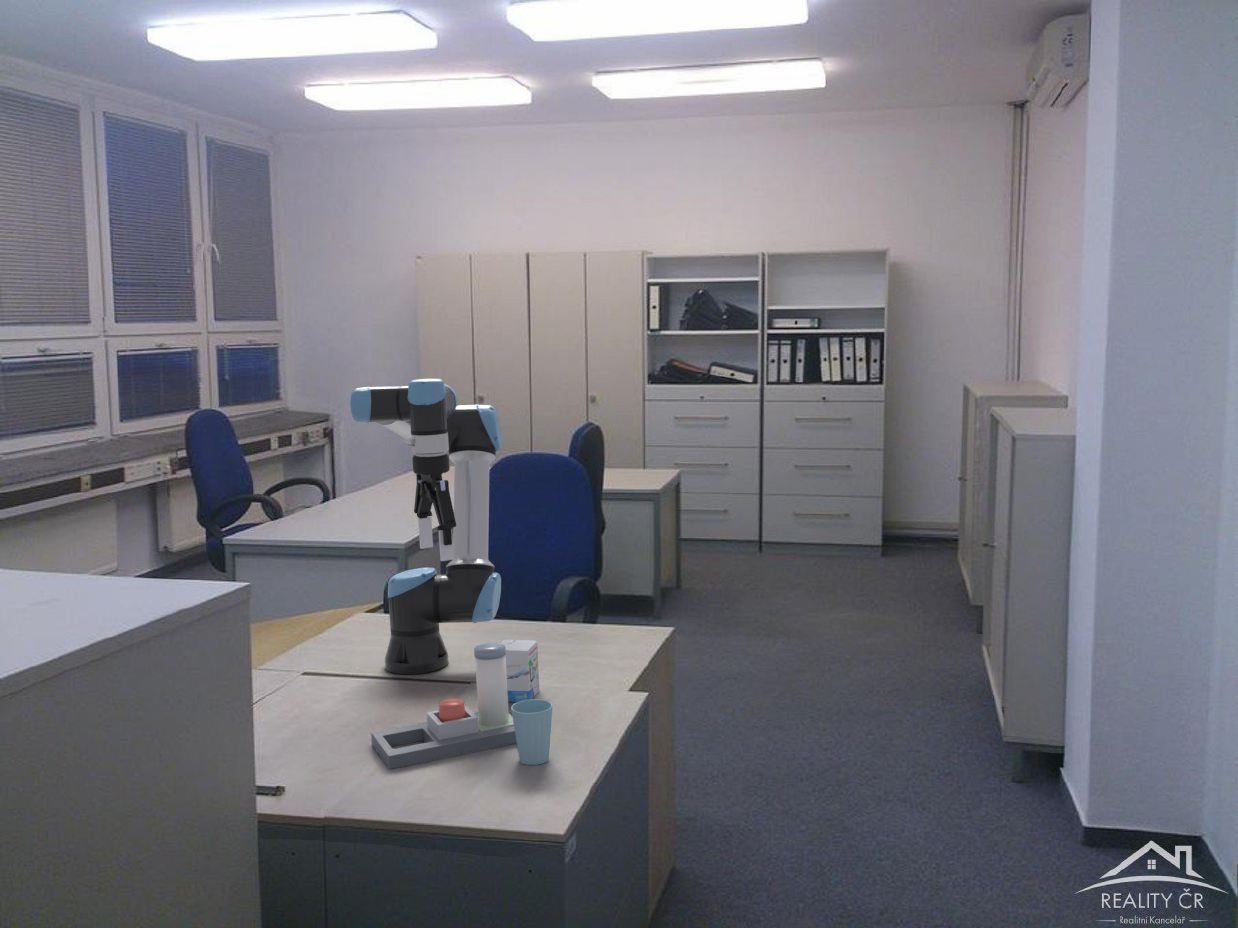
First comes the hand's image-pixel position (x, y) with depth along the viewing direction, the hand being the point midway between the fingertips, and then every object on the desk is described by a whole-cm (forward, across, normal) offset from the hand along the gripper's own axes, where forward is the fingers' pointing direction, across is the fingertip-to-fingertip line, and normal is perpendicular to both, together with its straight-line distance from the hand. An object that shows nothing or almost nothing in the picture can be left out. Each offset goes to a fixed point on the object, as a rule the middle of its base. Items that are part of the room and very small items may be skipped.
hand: (436, 553), depth 231 cm
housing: (+33, +20, -6) cm, 39 cm away
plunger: (+30, +20, -5) cm, 37 cm away
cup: (+33, +37, +5) cm, 50 cm away
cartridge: (+31, +20, +3) cm, 37 cm away
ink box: (+34, +1, +16) cm, 38 cm away
